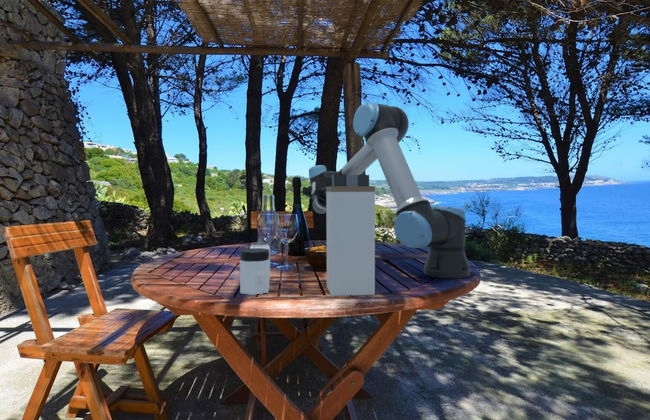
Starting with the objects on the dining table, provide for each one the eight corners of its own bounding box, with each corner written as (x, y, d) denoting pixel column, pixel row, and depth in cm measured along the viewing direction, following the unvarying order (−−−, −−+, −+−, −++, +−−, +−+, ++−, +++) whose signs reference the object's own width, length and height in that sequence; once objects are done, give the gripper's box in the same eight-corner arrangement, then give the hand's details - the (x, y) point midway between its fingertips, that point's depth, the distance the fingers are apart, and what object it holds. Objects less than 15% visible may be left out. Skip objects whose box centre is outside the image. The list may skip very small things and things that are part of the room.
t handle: (325, 186, 139) (325, 176, 138) (356, 186, 140) (356, 176, 140) (334, 186, 119) (334, 174, 119) (369, 186, 120) (369, 174, 120)
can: (274, 279, 140) (273, 242, 140) (261, 283, 135) (260, 244, 134) (259, 277, 144) (258, 241, 143) (245, 280, 138) (245, 243, 138)
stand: (326, 286, 130) (326, 186, 128) (365, 285, 131) (365, 186, 130) (331, 296, 118) (331, 186, 117) (374, 294, 119) (375, 186, 118)
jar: (246, 297, 117) (245, 253, 117) (234, 291, 124) (234, 249, 124) (275, 292, 122) (275, 250, 122) (263, 287, 129) (262, 247, 129)
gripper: (357, 208, 170) (369, 197, 150) (293, 207, 167) (297, 196, 146) (356, 189, 172) (368, 176, 151) (293, 188, 168) (297, 174, 148)
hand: (333, 186), depth 148 cm, fingers open, 13 cm apart
